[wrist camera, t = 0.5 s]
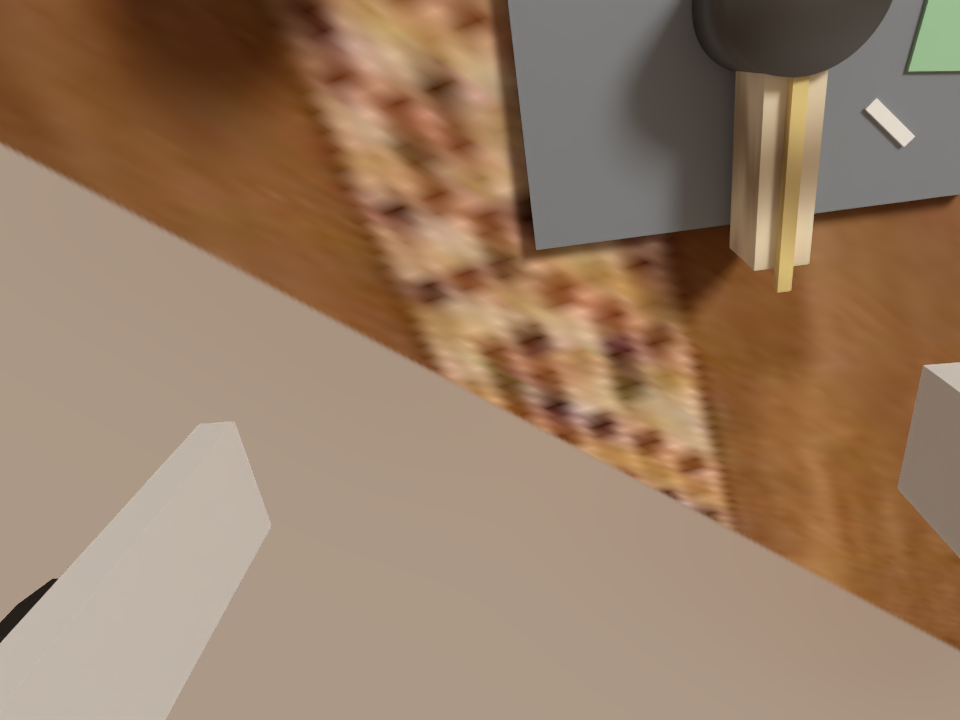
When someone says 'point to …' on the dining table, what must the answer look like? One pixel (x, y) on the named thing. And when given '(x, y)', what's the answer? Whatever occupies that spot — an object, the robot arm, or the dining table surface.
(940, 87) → the gauge board
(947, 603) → the dining table surface
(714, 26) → the dial lever
